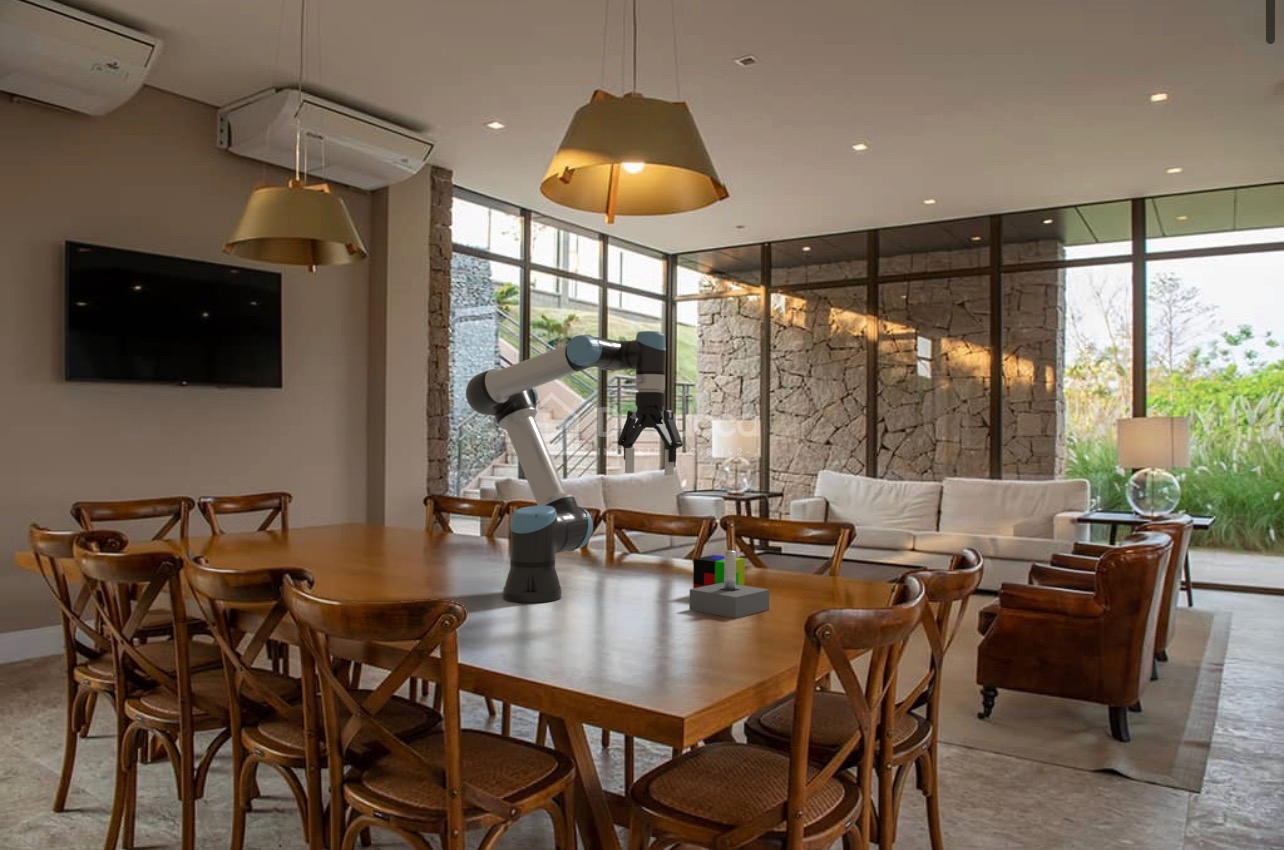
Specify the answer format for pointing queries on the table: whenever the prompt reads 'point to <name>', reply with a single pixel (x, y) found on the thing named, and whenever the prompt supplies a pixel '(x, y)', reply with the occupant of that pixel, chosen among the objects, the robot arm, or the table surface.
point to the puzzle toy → (715, 571)
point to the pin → (730, 570)
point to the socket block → (729, 600)
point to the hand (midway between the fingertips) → (648, 474)
